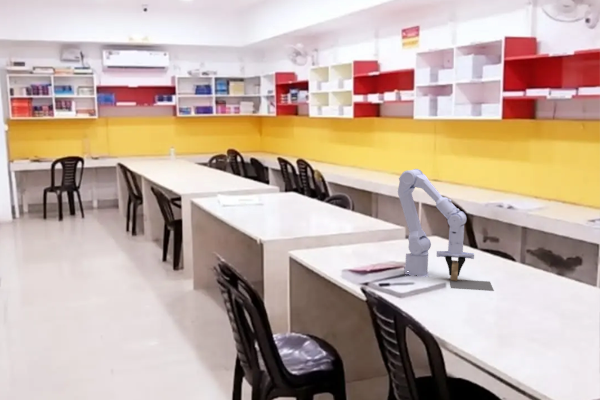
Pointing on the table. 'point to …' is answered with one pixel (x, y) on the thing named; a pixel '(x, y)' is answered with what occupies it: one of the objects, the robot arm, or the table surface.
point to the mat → (471, 285)
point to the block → (454, 270)
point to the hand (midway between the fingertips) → (454, 275)
